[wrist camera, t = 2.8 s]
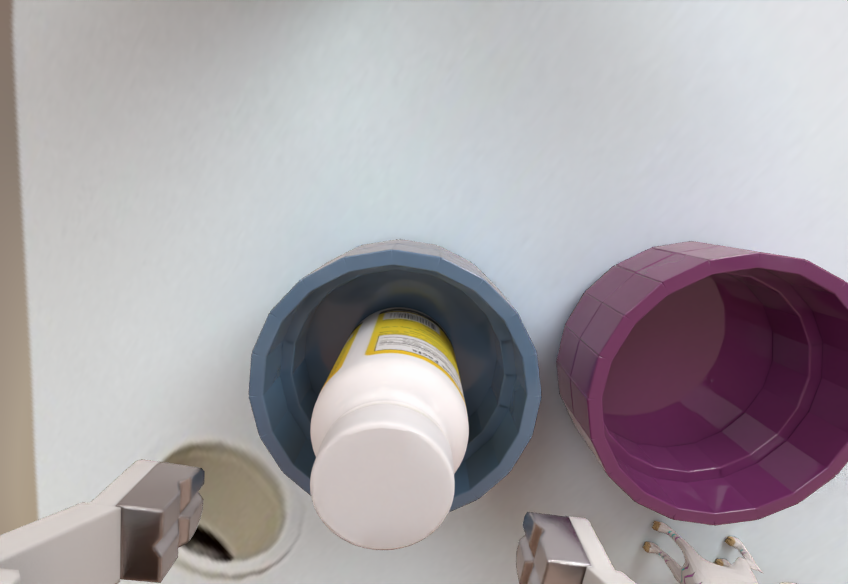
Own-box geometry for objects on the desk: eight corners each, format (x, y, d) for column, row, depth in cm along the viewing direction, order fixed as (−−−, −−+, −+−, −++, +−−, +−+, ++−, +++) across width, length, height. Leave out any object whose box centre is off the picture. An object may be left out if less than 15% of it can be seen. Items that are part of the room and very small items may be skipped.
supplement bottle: (376, 424, 22) (338, 599, 12) (326, 332, 21) (242, 446, 11) (473, 382, 21) (511, 530, 12) (426, 286, 20) (427, 364, 11)
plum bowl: (824, 262, 20) (933, 279, 16) (747, 475, 23) (824, 541, 18) (585, 224, 20) (630, 231, 16) (533, 444, 22) (560, 504, 18)
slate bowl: (538, 260, 20) (569, 277, 16) (492, 473, 23) (509, 538, 18) (296, 221, 20) (260, 228, 16) (276, 442, 22) (239, 501, 18)
